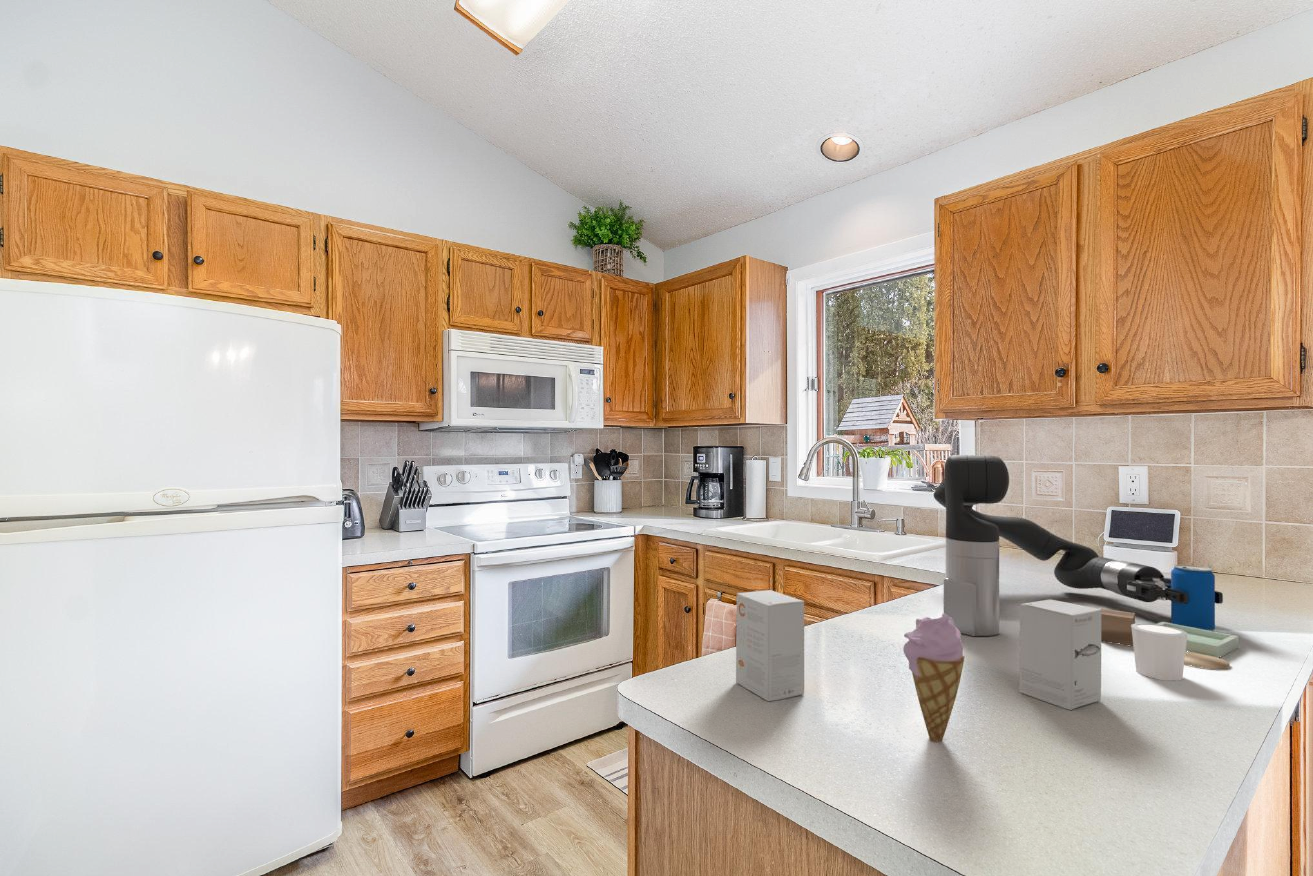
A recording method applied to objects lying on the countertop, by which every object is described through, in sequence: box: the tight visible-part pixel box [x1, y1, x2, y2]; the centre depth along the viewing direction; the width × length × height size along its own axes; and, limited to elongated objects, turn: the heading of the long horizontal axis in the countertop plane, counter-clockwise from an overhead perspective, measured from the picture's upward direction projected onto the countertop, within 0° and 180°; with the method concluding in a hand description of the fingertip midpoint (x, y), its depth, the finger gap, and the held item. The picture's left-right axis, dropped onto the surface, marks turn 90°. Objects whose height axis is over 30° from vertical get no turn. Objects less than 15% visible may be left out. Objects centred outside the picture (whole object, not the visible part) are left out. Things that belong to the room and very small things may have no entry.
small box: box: [735, 589, 805, 702], centre depth 90 cm, size 8×6×13 cm
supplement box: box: [1018, 599, 1102, 711], centre depth 88 cm, size 7×7×13 cm
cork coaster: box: [1184, 651, 1230, 670], centre depth 104 cm, size 8×8×1 cm
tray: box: [1155, 621, 1240, 658], centre depth 113 cm, size 11×11×2 cm
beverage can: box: [1170, 564, 1216, 631], centre depth 123 cm, size 6×6×12 cm
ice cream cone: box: [903, 612, 966, 743], centre depth 75 cm, size 7×6×15 cm
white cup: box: [1131, 622, 1187, 681], centre depth 98 cm, size 7×7×7 cm
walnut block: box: [1100, 608, 1136, 647], centre depth 115 cm, size 5×5×5 cm
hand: (1203, 598), depth 121 cm, fingers closed on beverage can, 6 cm apart
